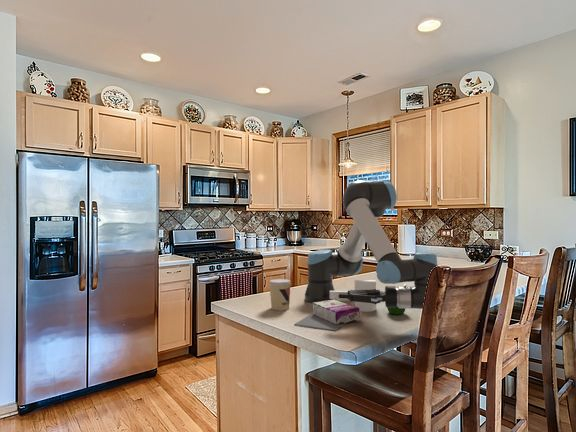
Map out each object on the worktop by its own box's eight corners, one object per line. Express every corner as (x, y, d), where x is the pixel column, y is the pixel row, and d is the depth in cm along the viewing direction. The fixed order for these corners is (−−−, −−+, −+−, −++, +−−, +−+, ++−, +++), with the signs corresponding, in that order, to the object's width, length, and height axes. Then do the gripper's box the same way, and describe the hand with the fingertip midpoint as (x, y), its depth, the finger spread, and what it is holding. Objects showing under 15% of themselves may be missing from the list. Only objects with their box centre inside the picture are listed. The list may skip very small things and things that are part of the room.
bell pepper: (394, 309, 149) (394, 285, 149) (411, 313, 142) (410, 289, 142) (380, 312, 145) (380, 288, 145) (396, 317, 138) (396, 291, 138)
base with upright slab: (356, 311, 147) (356, 282, 147) (353, 306, 156) (353, 279, 156) (378, 311, 147) (377, 282, 147) (374, 306, 156) (373, 278, 156)
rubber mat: (294, 325, 130) (294, 324, 130) (312, 313, 145) (312, 312, 145) (335, 331, 122) (335, 329, 122) (350, 318, 137) (350, 317, 137)
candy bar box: (360, 321, 132) (335, 310, 147) (360, 307, 132) (335, 298, 147) (335, 325, 127) (312, 314, 142) (335, 311, 127) (312, 302, 142)
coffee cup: (283, 312, 148) (283, 283, 148) (265, 309, 153) (265, 281, 153) (294, 307, 156) (294, 279, 156) (277, 304, 161) (277, 278, 161)
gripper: (395, 282, 131) (331, 281, 136) (398, 290, 118) (327, 288, 123) (395, 303, 131) (331, 300, 136) (398, 312, 118) (328, 309, 123)
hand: (329, 294), depth 129 cm, fingers closed
